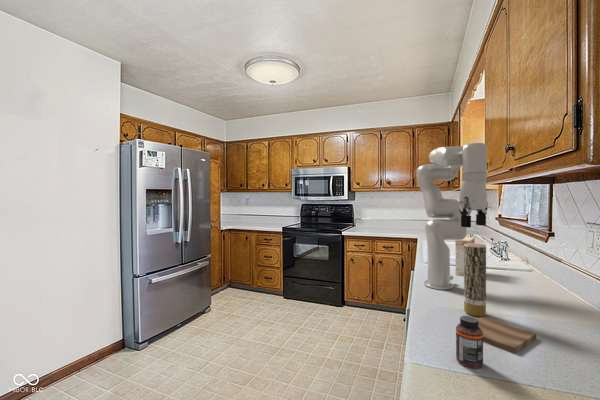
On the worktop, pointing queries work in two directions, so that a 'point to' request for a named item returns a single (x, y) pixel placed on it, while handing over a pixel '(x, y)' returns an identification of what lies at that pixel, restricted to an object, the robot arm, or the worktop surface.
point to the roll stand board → (505, 335)
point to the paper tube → (475, 279)
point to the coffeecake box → (461, 254)
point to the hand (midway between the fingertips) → (473, 226)
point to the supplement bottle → (469, 342)
